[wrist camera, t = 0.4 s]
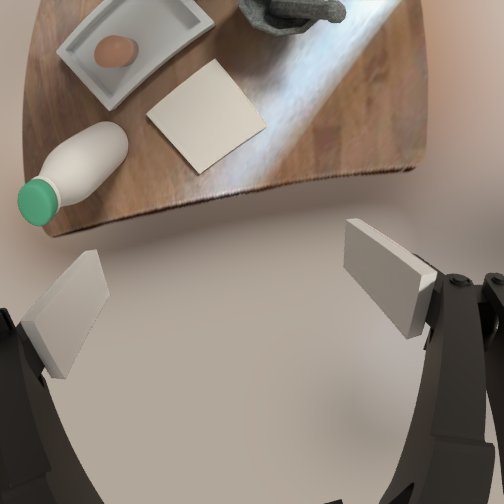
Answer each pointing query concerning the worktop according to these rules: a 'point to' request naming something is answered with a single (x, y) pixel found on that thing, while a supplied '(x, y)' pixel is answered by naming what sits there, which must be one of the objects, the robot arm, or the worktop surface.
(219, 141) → the pad
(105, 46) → the pinkish brown rounded cylinder
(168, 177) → the worktop surface
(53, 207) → the milk bottle
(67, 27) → the worktop surface
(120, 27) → the tray
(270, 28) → the mortar and pestle
